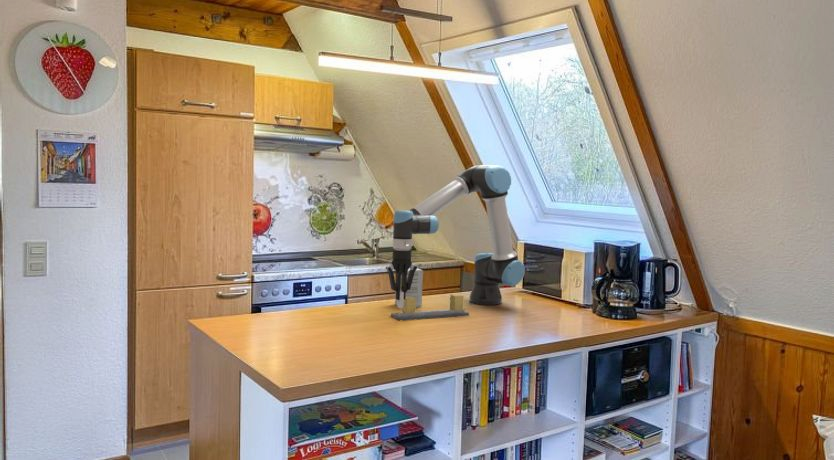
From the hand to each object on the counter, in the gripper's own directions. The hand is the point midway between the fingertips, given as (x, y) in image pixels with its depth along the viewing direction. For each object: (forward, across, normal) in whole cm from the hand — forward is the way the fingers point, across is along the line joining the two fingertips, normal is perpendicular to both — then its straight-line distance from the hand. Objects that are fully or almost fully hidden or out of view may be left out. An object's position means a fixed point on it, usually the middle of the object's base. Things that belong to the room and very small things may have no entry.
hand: (400, 307), depth 254 cm
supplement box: (+5, +14, +22) cm, 27 cm away
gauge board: (+5, +14, +2) cm, 15 cm away
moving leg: (+3, +4, +1) cm, 5 cm away
